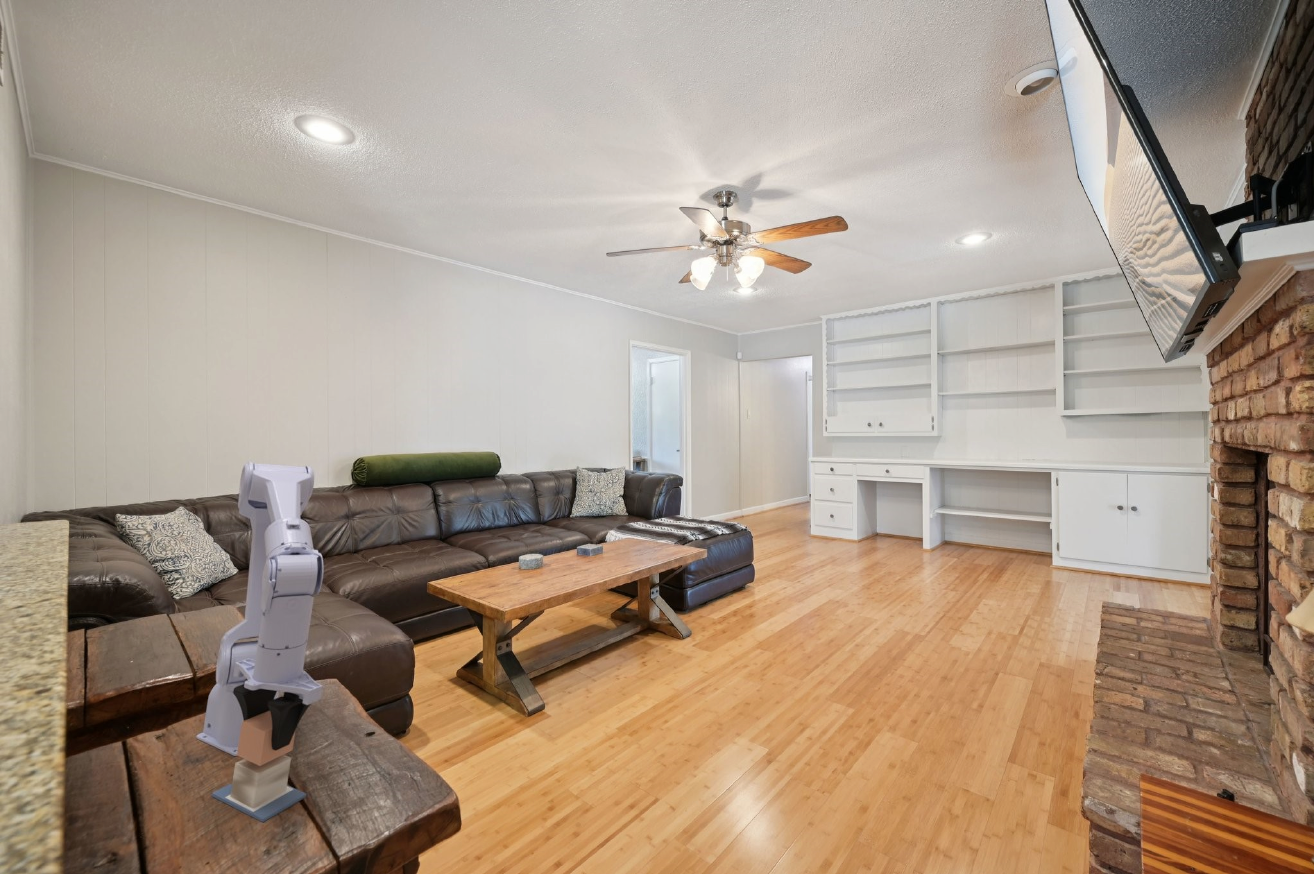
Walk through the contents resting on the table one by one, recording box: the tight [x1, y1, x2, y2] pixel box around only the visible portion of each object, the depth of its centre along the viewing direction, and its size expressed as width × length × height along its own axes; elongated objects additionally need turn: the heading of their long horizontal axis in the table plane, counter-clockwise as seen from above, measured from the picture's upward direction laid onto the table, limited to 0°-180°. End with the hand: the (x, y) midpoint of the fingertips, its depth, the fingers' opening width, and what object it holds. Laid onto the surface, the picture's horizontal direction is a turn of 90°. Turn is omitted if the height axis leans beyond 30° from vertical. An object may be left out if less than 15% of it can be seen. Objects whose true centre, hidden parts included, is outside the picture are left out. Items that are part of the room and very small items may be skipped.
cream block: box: [230, 754, 292, 808], centre depth 75 cm, size 4×4×4 cm
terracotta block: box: [236, 711, 296, 766], centre depth 75 cm, size 4×4×4 cm
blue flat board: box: [211, 782, 307, 823], centre depth 75 cm, size 10×6×1 cm, turn 70°
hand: (267, 740), depth 75 cm, fingers closed on terracotta block, 4 cm apart
